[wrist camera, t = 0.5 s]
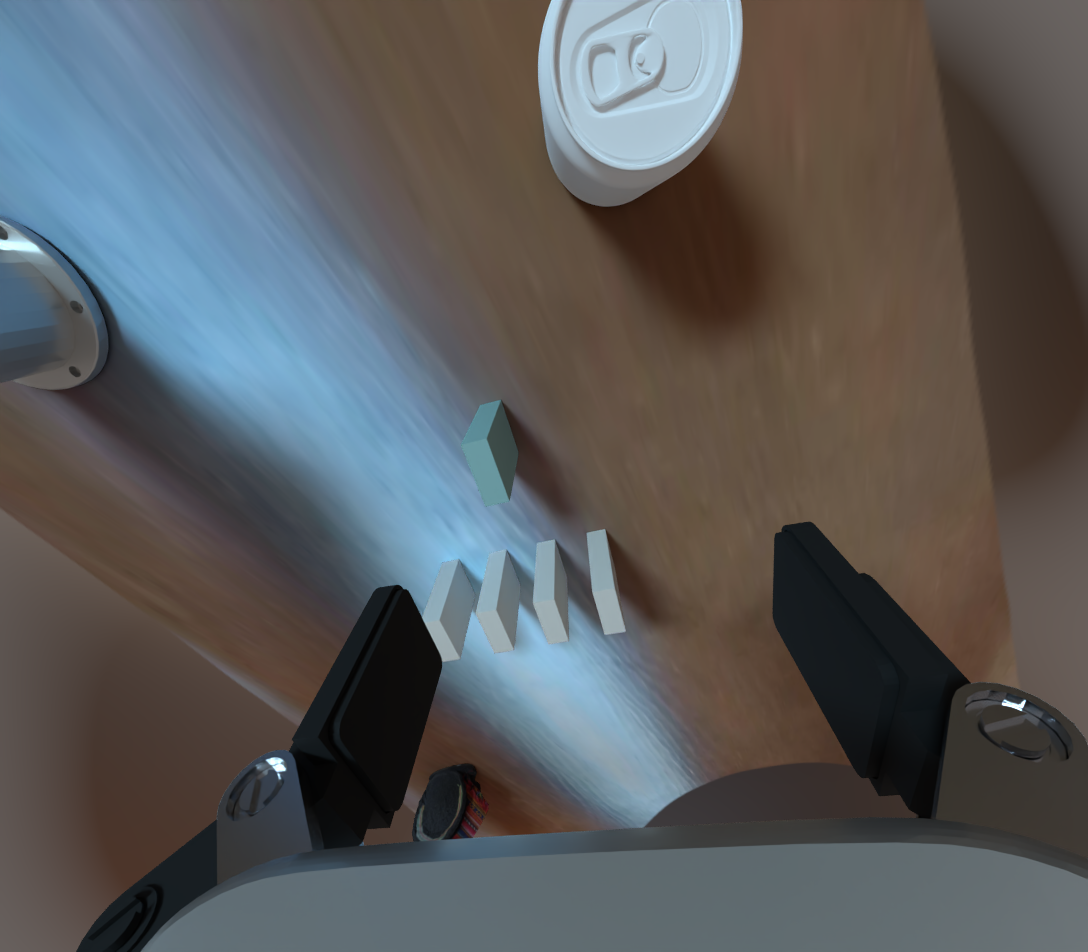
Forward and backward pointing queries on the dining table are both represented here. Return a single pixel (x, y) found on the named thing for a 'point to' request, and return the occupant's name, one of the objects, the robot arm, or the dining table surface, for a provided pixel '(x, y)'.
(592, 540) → the domino
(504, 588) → the domino
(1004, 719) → the robot arm
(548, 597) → the domino
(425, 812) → the figurine
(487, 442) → the domino
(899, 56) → the dining table surface
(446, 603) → the domino
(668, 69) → the beverage can
